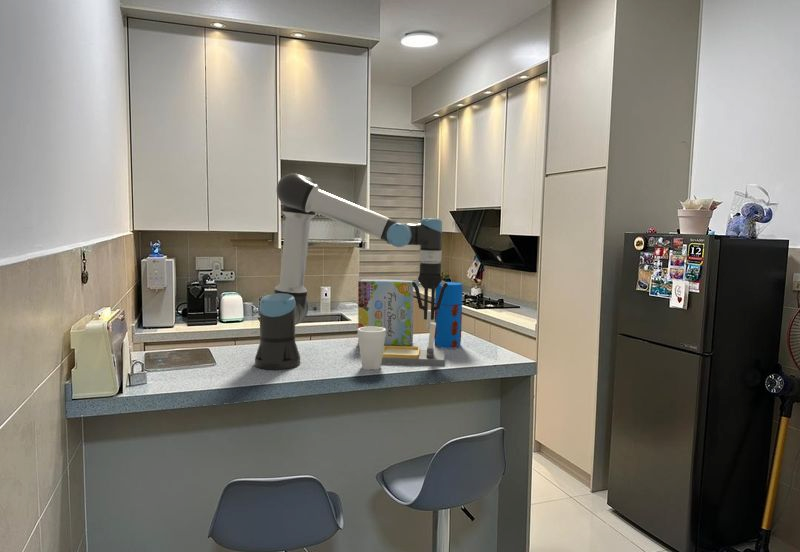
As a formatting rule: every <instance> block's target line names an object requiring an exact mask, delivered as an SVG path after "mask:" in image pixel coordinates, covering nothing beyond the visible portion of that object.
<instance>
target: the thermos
mask: <svg viewBox="0 0 800 552" xmlns="http://www.w3.org/2000/svg"><path fill="white" fill-rule="evenodd" d="M446 282H447V283H448V286H447V287H446V288H445V290H444V294H443V297H442V301H441V304H440V308H439V309H437V310H435V311H434V323H436V328H435V336H434V346H435V347H438V348H441V347H443V349H455V348H460V347H461V346H462V345H461V343H462V327H463V326H462V318H463V291H464V290H463V289H464V288H463V283H462V282H453V281H446ZM441 288H442V287H441V283H440V284H439V285H438V286H437V288H435V306H436V305H437V301H438V298H439V294H440V291H441Z"/></svg>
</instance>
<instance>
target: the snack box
mask: <svg viewBox="0 0 800 552" xmlns="http://www.w3.org/2000/svg"><path fill="white" fill-rule="evenodd" d="M413 281H414V280H410V279H408V280H407V279H406V280H405V279H404V280H402V279H361V280H358V282H357V284H358V285H357V286H358V287H357V290H358V294H357V295H358V297H357V299H358V301H357V302H358V303H357V304H358V307H357V308H358V309H357V311H358V312H357V314H358V317H357V320H358V323H357V324H358V326H357V327H358V328H361V327H382V328H385V329H386V337H385V342H384V345H385V346H411V345H412V343H413V342H414V341H413V340H414V337H413V336H414V287H413V285H412V282H413ZM358 328H357V329H358ZM357 339H358V338H357ZM357 342H358V345H359V339H358V341H357Z"/></svg>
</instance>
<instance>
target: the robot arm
mask: <svg viewBox="0 0 800 552" xmlns="http://www.w3.org/2000/svg"><path fill="white" fill-rule="evenodd" d="M276 195H277V198H278V200H279V201H280V202H281V204H282V208H281V213H282V214H283V215H284V217H285V221H284V222H285V223H284V224H285V225H284V235H283V244H282V255H281V266H280V275H279V283H278V284H277V285H276V286H275V287H274V293H271V294H267V295H264V296H263V297H262V296H261V299H260V301H259V307H258V308H259V309H258V310H259V345H258V347H257V351H256V354H255V357H254V366H255V367H256V368H259V369H263V370H286V369H291V368H295V367H298V366H299V365H301V355H300V351H299V349H298V346H297V344H296V342H297V341H296V326H297V325H299V324H300V323H302V322H303V321H304V320H305V318H306V316H307V315H308V312H309V307H310V306H309V302H308V299H307V298H308V290H307V288H306V287H305V286H304V285H305V275H306V268H307V267H306V266H307V257H308V246H309V237H310V235H309V234H310V227H311V220H312V219H314V218H315V216H316V214H318V215H320V216H323V217H325V218H327V219H330V220H332V221H335V222H337V223H340V224H343V225H345V226H348V227H350V228H352V229H355V230H357V231H360V232H362V233H364V234H367V235H370V236H372V237H374V238H377V239H379V240H382V241H384V242H386V244H388V245H392V246H393V247H397V248H403V247H405V246H419V262H420V263H419V275H418V277H417V279H416V280H415V281H414V280H412V281H413V282H412V285H413V289H414V291H415V292H414V293H415V295H416V299H417V304H418V309H421V310H422V311H423V319H424V321H425V320H426V330H430V326H431V321H433V320H434V321H435V310H437V309H439V308H440V304H441V301H442V297H443V294H444V290H445V288H446V287H447V286H448V283H447V282H448V281H444V280H443V277H442V264H441V263H440V262H442V253H443V252H442V245H443V221H442V219H440V218H432V217H431V218H429V217H428V218H421V219H420V223H402V222H400V221H397V220H395V219H393V218H390V217H387V216H385V215H382V214H380V213H377V212H375V211H373V210H370V209H368V208H366V207H363V206H360V205H359V204H356V203H353V202H351V201H348V200H346V199H344V198H342V197H338V196H336V195H334V194H331V193H329V192H326V191H324V190H322V189H320V186H319V185H318V184H317V183H316V182H315V181H314V179H312V178H310V177H309V176H305V175H302V174H299V173H294V172H291V173H288V174H286V175H284V176H282V177H281V178H280V179H279V181H278V182H277V185H276ZM440 283H441V287H442V288H441V291H440V294H439V298H438V301H437V305H436V306H435V288H437V286H438V285H439V284H440ZM420 285H421V287H422V288H423V289H424V291H423V292H424V293H423V295H424V296H423V299H424V300H423V302H422V298H421V297H422V296H421V292H420V288H419V286H420ZM429 290H431V294H430V295H431V296H430V297H431V299H430V309H428V307H429V306H428V305H429V302H428V301H429V298H428V297H429Z"/></svg>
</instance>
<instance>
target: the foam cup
mask: <svg viewBox="0 0 800 552" xmlns="http://www.w3.org/2000/svg"><path fill="white" fill-rule="evenodd" d="M385 337H386V329H385V328H382V327H361V328H357V339H359V344H358V345H359V346H358V347H359V354H360V362H361V368H362V369H363V370H369V371H370V369H375V370H379V368H380V367H382V364H383V363H382V356H383V349H384V342H385ZM380 369H381V368H380Z"/></svg>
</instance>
